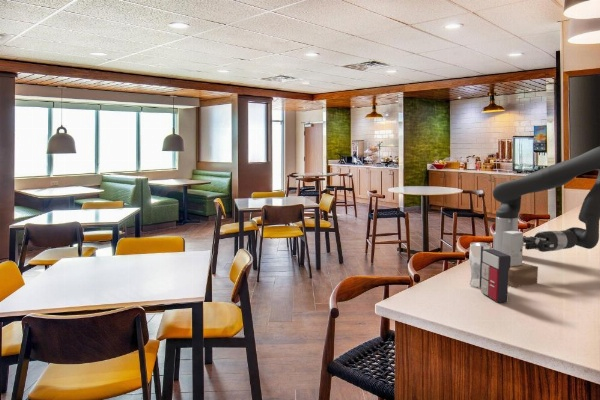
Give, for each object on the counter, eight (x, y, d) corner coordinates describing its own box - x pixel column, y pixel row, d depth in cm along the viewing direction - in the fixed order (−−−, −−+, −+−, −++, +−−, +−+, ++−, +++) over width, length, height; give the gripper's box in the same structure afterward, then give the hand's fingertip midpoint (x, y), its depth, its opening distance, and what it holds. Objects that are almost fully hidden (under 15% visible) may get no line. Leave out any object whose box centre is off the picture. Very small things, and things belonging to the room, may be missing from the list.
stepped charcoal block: (479, 292, 155) (480, 249, 154) (491, 292, 156) (493, 248, 154) (496, 303, 144) (497, 256, 143) (509, 302, 145) (511, 255, 143)
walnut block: (486, 279, 172) (486, 263, 171) (509, 275, 177) (509, 259, 176) (513, 287, 161) (514, 270, 160) (537, 283, 166) (537, 266, 165)
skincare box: (511, 267, 165) (512, 233, 164) (500, 264, 169) (501, 231, 168) (522, 265, 168) (524, 232, 167) (512, 262, 172) (513, 230, 171)
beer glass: (488, 283, 165) (490, 242, 164) (490, 289, 159) (491, 246, 157) (468, 282, 168) (469, 241, 166) (468, 287, 161) (469, 245, 160)
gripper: (535, 228, 180) (502, 231, 174) (567, 234, 167) (533, 237, 161) (534, 247, 181) (501, 250, 175) (566, 254, 167) (532, 258, 162)
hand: (516, 244), depth 168 cm, fingers open, 8 cm apart
